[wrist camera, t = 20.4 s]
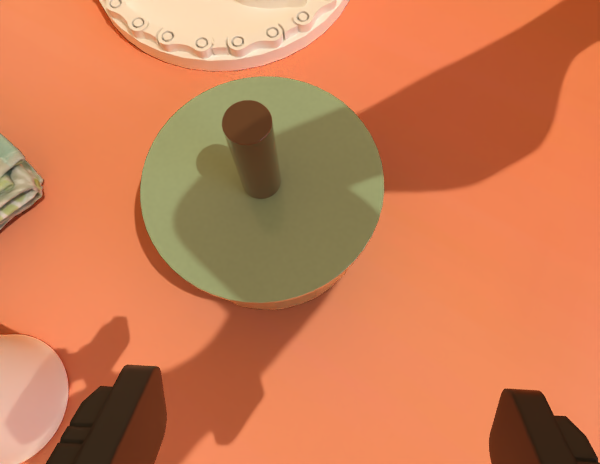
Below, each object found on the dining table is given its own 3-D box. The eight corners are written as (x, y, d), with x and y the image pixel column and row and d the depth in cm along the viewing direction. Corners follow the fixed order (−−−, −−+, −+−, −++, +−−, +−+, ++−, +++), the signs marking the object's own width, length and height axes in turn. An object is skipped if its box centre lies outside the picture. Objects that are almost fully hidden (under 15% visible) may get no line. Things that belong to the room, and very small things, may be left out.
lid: (222, 53, 34) (196, -45, 27) (420, 142, 32) (454, 63, 24) (98, 235, 31) (26, 182, 23) (312, 352, 28) (312, 337, 20)
